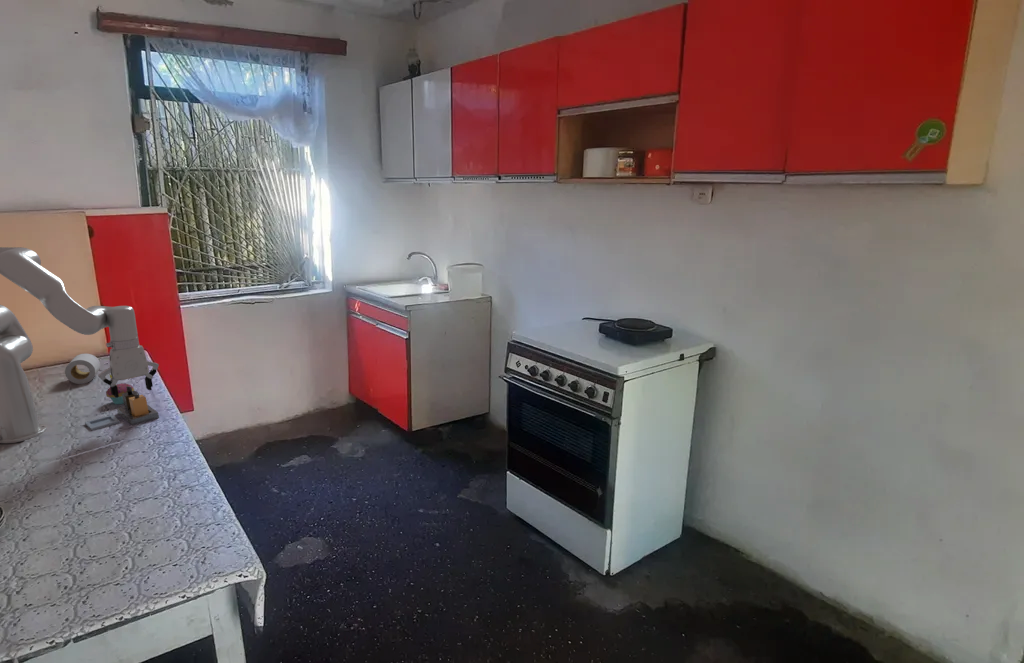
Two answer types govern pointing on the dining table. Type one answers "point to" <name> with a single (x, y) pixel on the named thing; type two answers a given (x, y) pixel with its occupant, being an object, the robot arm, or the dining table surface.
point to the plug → (138, 405)
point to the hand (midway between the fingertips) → (132, 392)
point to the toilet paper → (79, 376)
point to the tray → (102, 422)
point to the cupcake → (121, 390)
